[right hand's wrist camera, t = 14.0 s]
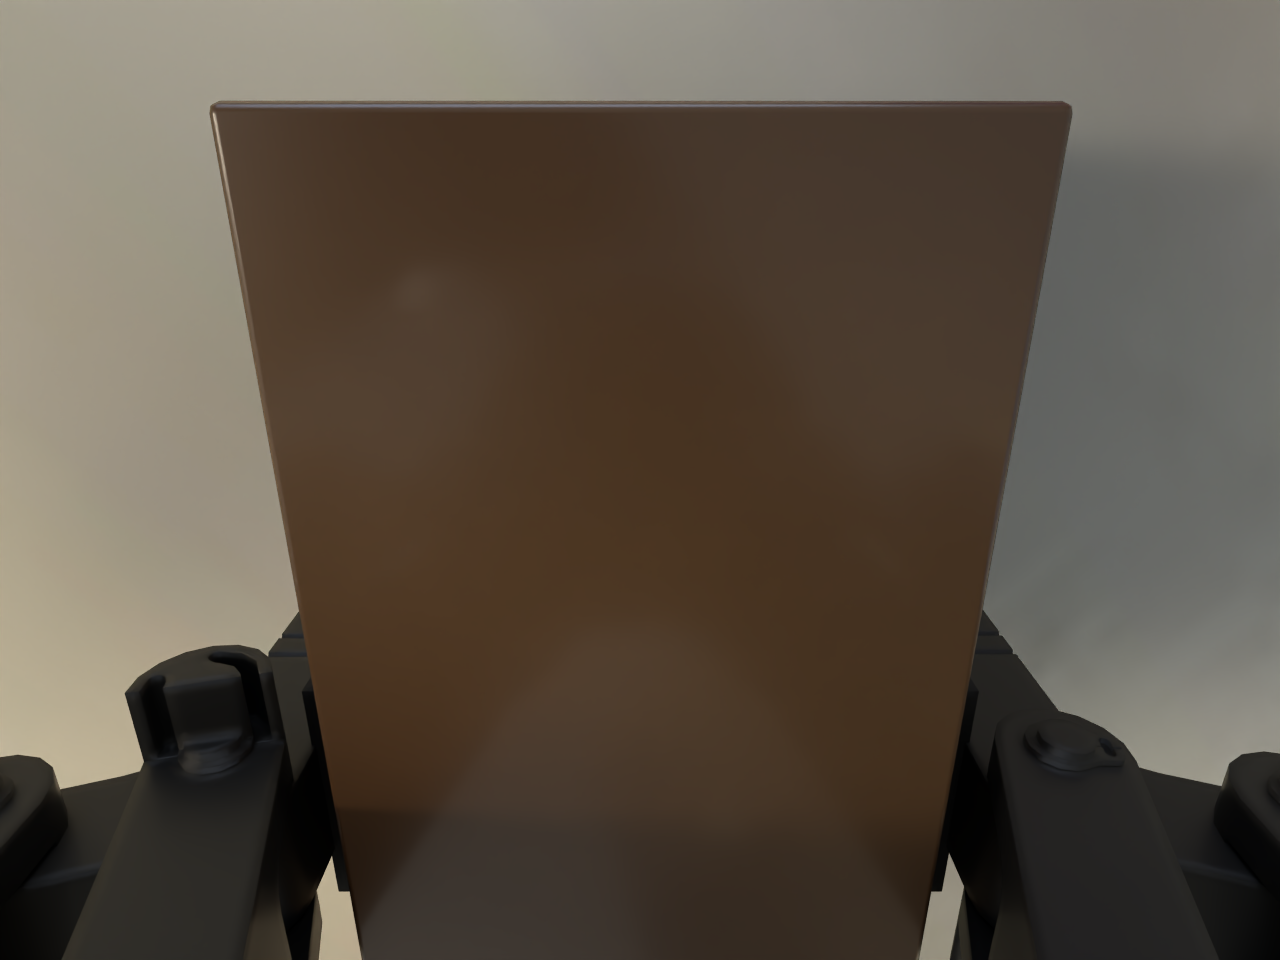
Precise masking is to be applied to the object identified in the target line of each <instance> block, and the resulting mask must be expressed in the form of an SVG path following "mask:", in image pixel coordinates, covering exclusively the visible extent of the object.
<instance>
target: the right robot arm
mask: <svg viewBox="0 0 1280 960" xmlns="http://www.w3.org/2000/svg"><path fill="white" fill-rule="evenodd" d="M125 696H126V700H127V703H128V707H129V710H130V714H131V717H132V721H133V724H134V728H135V731H136V735H137V738H138V742H139V745H140V749H141V752H142V756H143V759H144V763H143V766H142V768H141V770H140V772H136V773H132V774H129V775H125V776H121V777H117V778H112V779H107V780H103V781H98V782H93V783H88V784H84V785H79V786H74V787H70V788H65V789H60V788H59V785H58V782H57V779H56V776H55V773H54V770H53V767H52V766H50V765H49V764H48V763H46V762H45V761H44V760H42V759H41V758H38V757H30V756H23V755H14V756H6V757H0V960H319V950H320V940H321V930H322V918H321V912H320V905H319V900H318V895H317V888H318V886H319V884H320V881H321V879H322V877H323V875H324V872H325V870H326V868H327V865H328V863H329V861H330V859H331V856H332V858H333V863H334V868H335V874H336V879H337V884H338V890H339V891H350V890H349V885H348V879H347V874H346V868H345V863H344V857H343V851H342V846H341V840H340V835H339V829H338V824H337V818H336V813H335V807H334V801H333V796H332V790H331V785H330V779H329V774H328V768H327V763H326V757H325V751H324V746H323V740H322V735H321V729H320V724H319V718H318V713H317V707H316V701H315V696H314V690H313V685H312V679H311V674H310V668H309V663H308V657H307V651H306V646H305V640H304V635H303V629H302V624H301V618H300V613H299V612H298V614H297V615H296V616H295V618H294V619H293V620H292V622H291V623H290V624H289V626H288V627H287V628H286V630H285V631H284V632H283V634H282V638H279V639H278V640H277V642H276V643H275V644H274V646H273V647H272V648H271V650H270V651H269V656H266V655H265V654H264V653H262V652H261V651H260V650H259V649H255V648H250V647H246V646H241V645H226V646H211V647H207V648H202V649H198V650H194V651H189V652H185V653H183V654H181V655H178V656H176V657H173V658H171V659H168V660H166V661H164V662H161V663H159V664H158V665H156V666H154V667H153V668H151V669H150V670H148V671H147V672H145V673H144V674H142V675H141V676H139V677H138V678H137V679H136V680H135V682H134V683H133V684H132V685H131V686H130V688H129V689H128V690H127V691H126V692H125ZM949 853H950V856H951V858H952V860H953V862H954V865H955V867H956V869H957V871H958V874H959V876H960V878H961V881H962V883H963V885H964V890H963V895H962V900H961V905H960V910H959V915H958V920H957V925H956V930H955V935H954V940H953V945H952V950H951V956H950V960H1280V754H1279V753H1271V752H1256V753H1249V754H1242V755H1240V756H1239V757H1238V758H1236V759H1235V760H1234V761H1232V762H1231V763H1230V764H1229V766H1228V769H1227V772H1226V775H1225V778H1224V781H1223V784H1222V786H1218V785H1213V784H1208V783H1204V782H1199V781H1194V780H1189V779H1185V778H1180V777H1175V776H1171V775H1166V774H1161V773H1157V772H1153V771H1150V770H1146V769H1143V768H1139V767H1138V764H1137V762H1136V760H1135V759H1134V757H1133V756H1132V754H1131V753H1130V752H1129V750H1128V749H1127V747H1126V746H1125V745H1124V743H1122V742H1121V741H1120V740H1118V739H1117V738H1116V737H1115V736H1113V735H1112V734H1111V733H1109V732H1108V731H1107V730H1105V729H1104V728H1102V727H1100V726H1098V725H1096V724H1094V723H1092V722H1090V721H1087V720H1085V719H1083V718H1081V717H1079V716H1076V715H1072V714H1068V713H1064V712H1060V711H1058V710H1057V708H1056V707H1055V706H1054V704H1053V703H1052V702H1051V700H1050V699H1049V698H1048V696H1047V695H1046V694H1045V692H1044V691H1043V690H1042V688H1041V687H1040V686H1039V684H1038V683H1037V682H1036V680H1035V679H1034V678H1033V676H1032V675H1031V674H1030V672H1029V671H1028V670H1027V668H1026V667H1025V666H1024V664H1023V663H1022V662H1021V660H1020V659H1019V658H1018V656H1017V655H1016V654H1013V652H1012V648H1011V647H1010V646H1009V644H1008V643H1007V642H1006V640H1005V639H1004V638H1003V636H999V631H998V630H997V628H996V627H995V626H994V624H993V623H992V622H991V620H990V619H989V618H988V616H987V615H986V614H985V612H984V611H983V610H982V614H981V620H980V625H979V631H978V636H977V642H976V647H975V653H974V658H973V664H972V669H971V675H970V680H969V686H968V691H967V697H966V702H965V708H964V713H963V719H962V724H961V730H960V735H959V741H958V746H957V752H956V757H955V763H954V768H953V774H952V779H951V785H950V791H949V796H948V802H947V807H946V813H945V818H944V824H943V829H942V835H941V840H940V846H939V851H938V857H937V862H936V868H935V873H934V879H933V884H932V890H931V891H942V887H943V882H944V877H945V871H946V866H947V861H948V855H949Z"/></svg>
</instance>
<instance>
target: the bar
mask: <svg viewBox="0 0 1280 960" xmlns="http://www.w3.org/2000/svg"><path fill="white" fill-rule="evenodd" d="M210 118H211V124H212V129H213V135H214V141H215V146H216V152H217V157H218V163H219V168H220V174H221V179H222V185H223V191H224V196H225V202H226V207H227V213H228V218H229V224H230V229H231V235H232V241H233V246H234V252H235V257H236V263H237V268H238V274H239V279H240V285H241V290H242V296H243V302H244V307H245V313H246V318H247V324H248V329H249V335H250V340H251V346H252V352H253V357H254V363H255V368H256V374H257V379H258V385H259V390H260V396H261V402H262V407H263V413H264V418H265V424H266V429H267V435H268V440H269V446H270V452H271V457H272V463H273V468H274V474H275V479H276V485H277V490H278V496H279V502H280V507H281V513H282V518H283V524H284V529H285V535H286V540H287V546H288V552H289V557H290V563H291V568H292V574H293V579H294V585H295V590H296V596H297V601H298V607H299V613H300V618H301V624H302V629H303V635H304V640H305V646H306V651H307V657H308V663H309V668H310V674H311V679H312V685H313V690H314V696H315V701H316V707H317V713H318V718H319V724H320V729H321V735H322V740H323V746H324V751H325V757H326V763H327V768H328V774H329V779H330V785H331V790H332V796H333V801H334V807H335V813H336V818H337V824H338V829H339V835H340V840H341V846H342V851H343V857H344V863H345V868H346V874H347V879H348V885H349V890H350V896H351V901H352V907H353V912H354V918H355V924H356V929H357V935H358V940H359V946H360V951H361V957H362V960H919V956H920V950H921V945H922V939H923V934H924V928H925V923H926V917H927V912H928V906H929V901H930V895H931V890H932V884H933V879H934V873H935V868H936V862H937V857H938V851H939V846H940V840H941V835H942V829H943V824H944V818H945V813H946V807H947V802H948V796H949V791H950V785H951V779H952V774H953V768H954V763H955V757H956V752H957V746H958V741H959V735H960V730H961V724H962V719H963V713H964V708H965V702H966V697H967V691H968V686H969V680H970V675H971V669H972V664H973V658H974V653H975V647H976V642H977V636H978V631H979V625H980V620H981V614H982V609H983V603H984V598H985V592H986V587H987V581H988V576H989V570H990V565H991V559H992V554H993V548H994V543H995V537H996V532H997V526H998V521H999V515H1000V509H1001V504H1002V498H1003V493H1004V487H1005V482H1006V476H1007V471H1008V465H1009V460H1010V454H1011V449H1012V443H1013V438H1014V432H1015V427H1016V421H1017V416H1018V410H1019V405H1020V399H1021V394H1022V388H1023V383H1024V377H1025V372H1026V366H1027V361H1028V355H1029V350H1030V344H1031V339H1032V333H1033V328H1034V322H1035V317H1036V311H1037V306H1038V300H1039V295H1040V289H1041V284H1042V278H1043V273H1044V267H1045V262H1046V256H1047V251H1048V245H1049V239H1050V234H1051V228H1052V223H1053V217H1054V212H1055V206H1056V201H1057V195H1058V190H1059V184H1060V179H1061V173H1062V168H1063V162H1064V157H1065V151H1066V146H1067V140H1068V135H1069V129H1070V124H1071V118H1072V107H1071V106H1070V105H1069V104H1067V103H1065V102H1063V101H219V102H216V103H214V104H212V105H211V106H210Z"/></svg>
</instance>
